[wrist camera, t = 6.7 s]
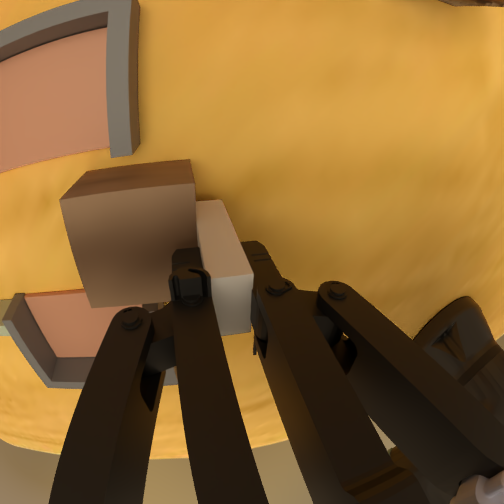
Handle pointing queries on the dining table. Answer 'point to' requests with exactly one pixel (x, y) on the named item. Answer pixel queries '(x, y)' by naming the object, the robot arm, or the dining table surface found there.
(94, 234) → the walnut block
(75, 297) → the channel
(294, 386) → the robot arm
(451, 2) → the coffee box
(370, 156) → the dining table surface
